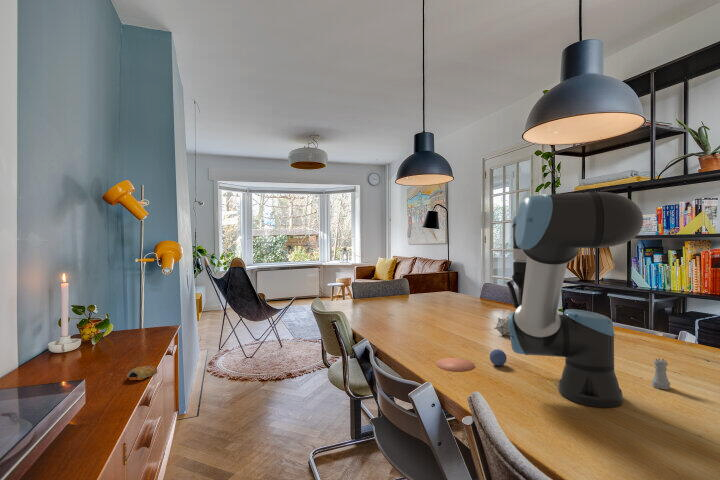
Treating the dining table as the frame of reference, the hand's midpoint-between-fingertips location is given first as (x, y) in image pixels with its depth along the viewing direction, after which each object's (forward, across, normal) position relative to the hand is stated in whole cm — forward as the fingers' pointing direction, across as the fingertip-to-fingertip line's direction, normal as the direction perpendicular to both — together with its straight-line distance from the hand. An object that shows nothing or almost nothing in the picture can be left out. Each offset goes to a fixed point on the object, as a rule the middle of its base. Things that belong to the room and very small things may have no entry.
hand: (526, 329), depth 127 cm
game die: (+13, -3, -38) cm, 40 cm away
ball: (+10, +10, 0) cm, 14 cm away
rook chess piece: (+13, -32, +16) cm, 38 cm away
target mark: (+13, +24, 0) cm, 27 cm away
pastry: (+13, +130, +18) cm, 132 cm away
